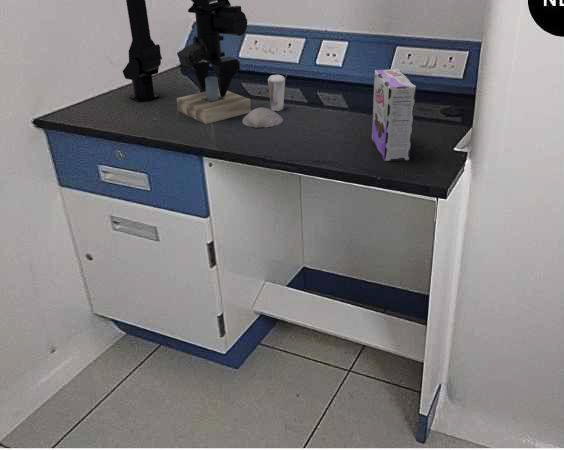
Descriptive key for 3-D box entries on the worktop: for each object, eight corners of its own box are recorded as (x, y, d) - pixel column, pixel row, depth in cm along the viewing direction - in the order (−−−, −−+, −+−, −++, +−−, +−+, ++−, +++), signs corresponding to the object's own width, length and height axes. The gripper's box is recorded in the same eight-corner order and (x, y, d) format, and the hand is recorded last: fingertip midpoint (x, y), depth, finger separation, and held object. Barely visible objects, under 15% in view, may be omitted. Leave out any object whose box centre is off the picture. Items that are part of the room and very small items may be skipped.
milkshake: (286, 112, 165) (286, 74, 160) (267, 111, 166) (265, 74, 161) (290, 107, 169) (289, 70, 164) (270, 106, 170) (269, 69, 165)
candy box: (370, 139, 147) (373, 69, 139) (395, 137, 147) (399, 67, 139) (383, 161, 135) (388, 86, 127) (410, 160, 135) (416, 85, 127)
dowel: (205, 111, 167) (202, 78, 163) (215, 109, 169) (213, 75, 165) (211, 114, 165) (209, 80, 161) (222, 111, 167) (219, 78, 162)
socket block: (177, 111, 168) (176, 98, 166) (221, 100, 176) (220, 88, 174) (206, 124, 158) (204, 110, 157) (250, 112, 166) (250, 99, 164)
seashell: (234, 116, 154) (247, 96, 162) (238, 135, 158) (250, 114, 165) (274, 119, 151) (285, 98, 159) (276, 138, 155) (287, 117, 162)
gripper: (161, 31, 159) (168, 91, 167) (200, 43, 146) (206, 107, 154) (198, 24, 165) (203, 83, 173) (239, 35, 152) (243, 98, 160)
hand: (212, 92), depth 164 cm, fingers open, 9 cm apart
